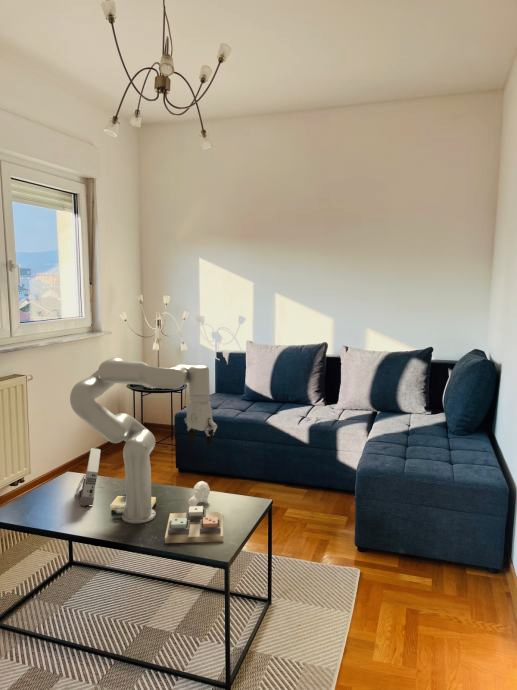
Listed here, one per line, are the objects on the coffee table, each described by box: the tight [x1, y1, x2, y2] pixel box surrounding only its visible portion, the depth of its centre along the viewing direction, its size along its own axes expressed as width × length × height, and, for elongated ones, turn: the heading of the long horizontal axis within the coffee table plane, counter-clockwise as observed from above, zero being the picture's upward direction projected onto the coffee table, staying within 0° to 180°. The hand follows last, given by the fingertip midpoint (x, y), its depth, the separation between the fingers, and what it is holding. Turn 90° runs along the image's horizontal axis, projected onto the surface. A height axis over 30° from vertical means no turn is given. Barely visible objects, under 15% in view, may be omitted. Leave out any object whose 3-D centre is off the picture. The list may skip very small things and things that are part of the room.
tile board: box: [164, 507, 224, 544], centre depth 194 cm, size 20×20×4 cm
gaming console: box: [74, 447, 101, 507], centre depth 221 cm, size 23×8×20 cm, turn 15°
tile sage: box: [171, 518, 187, 529], centre depth 189 cm, size 5×5×2 cm
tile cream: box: [188, 505, 204, 516], centre depth 199 cm, size 5×5×2 cm
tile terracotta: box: [203, 517, 218, 528], centre depth 190 cm, size 5×5×2 cm
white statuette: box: [187, 480, 211, 507], centre depth 215 cm, size 6×8×12 cm
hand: (200, 443), depth 200 cm, fingers open, 9 cm apart
